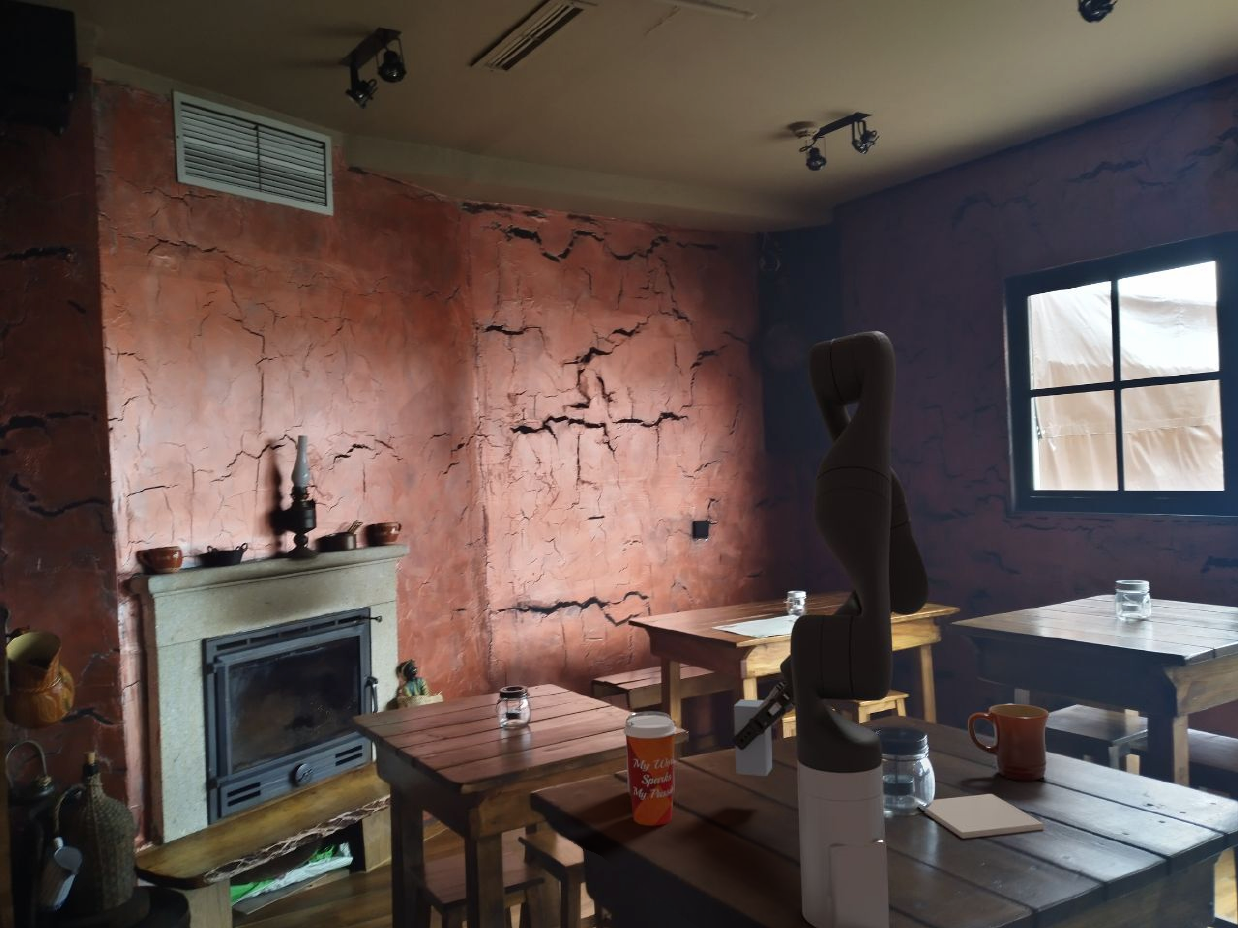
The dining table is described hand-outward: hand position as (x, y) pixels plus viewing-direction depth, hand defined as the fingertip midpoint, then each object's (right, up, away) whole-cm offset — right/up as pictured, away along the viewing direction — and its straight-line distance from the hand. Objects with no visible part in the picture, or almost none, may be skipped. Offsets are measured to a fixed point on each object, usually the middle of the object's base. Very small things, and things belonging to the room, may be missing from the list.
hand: (740, 740), depth 138 cm
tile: (+32, -8, -9) cm, 34 cm away
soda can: (-13, -10, +5) cm, 17 cm away
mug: (+44, -8, +9) cm, 46 cm away
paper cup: (-13, -10, -5) cm, 17 cm away
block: (+2, -4, -1) cm, 5 cm away
